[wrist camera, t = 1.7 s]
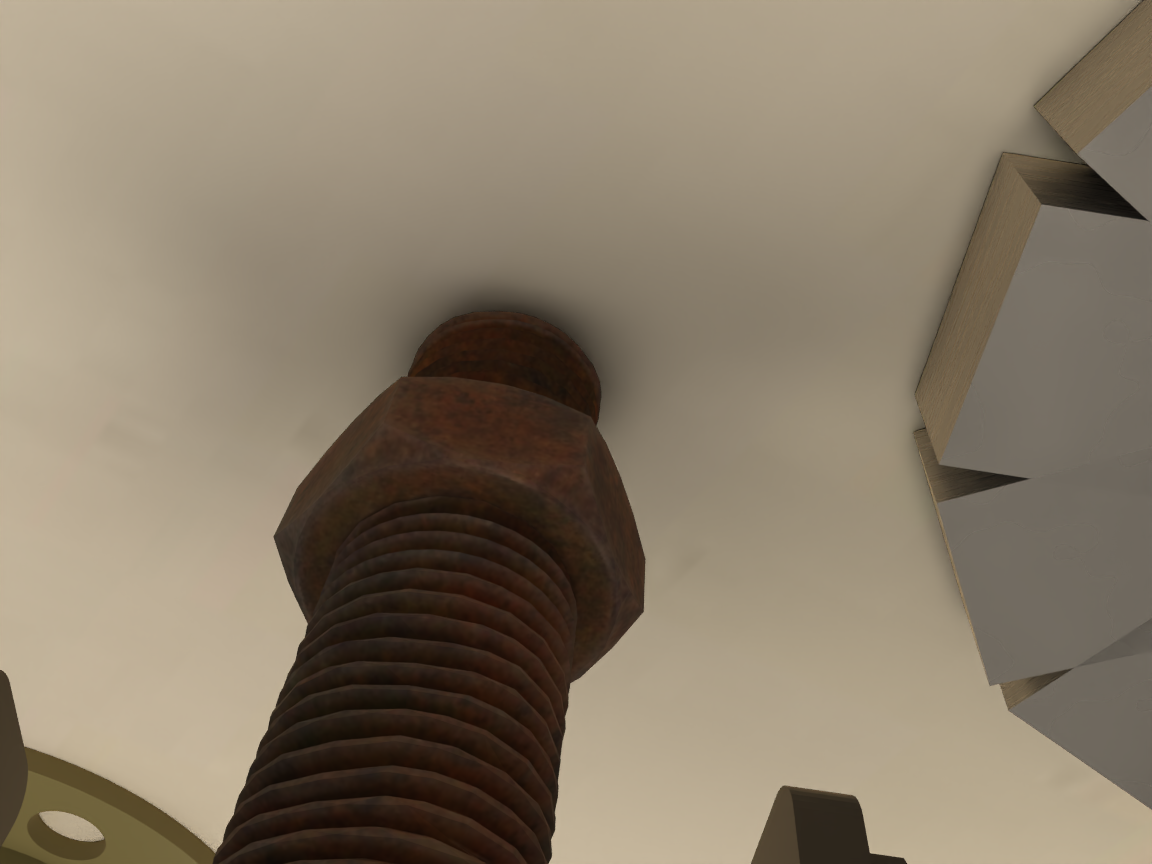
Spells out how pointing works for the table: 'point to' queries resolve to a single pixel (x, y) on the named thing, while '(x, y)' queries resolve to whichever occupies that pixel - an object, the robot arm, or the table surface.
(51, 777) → the flange
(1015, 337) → the grey segmented ring
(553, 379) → the bolt
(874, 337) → the table surface
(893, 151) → the table surface
